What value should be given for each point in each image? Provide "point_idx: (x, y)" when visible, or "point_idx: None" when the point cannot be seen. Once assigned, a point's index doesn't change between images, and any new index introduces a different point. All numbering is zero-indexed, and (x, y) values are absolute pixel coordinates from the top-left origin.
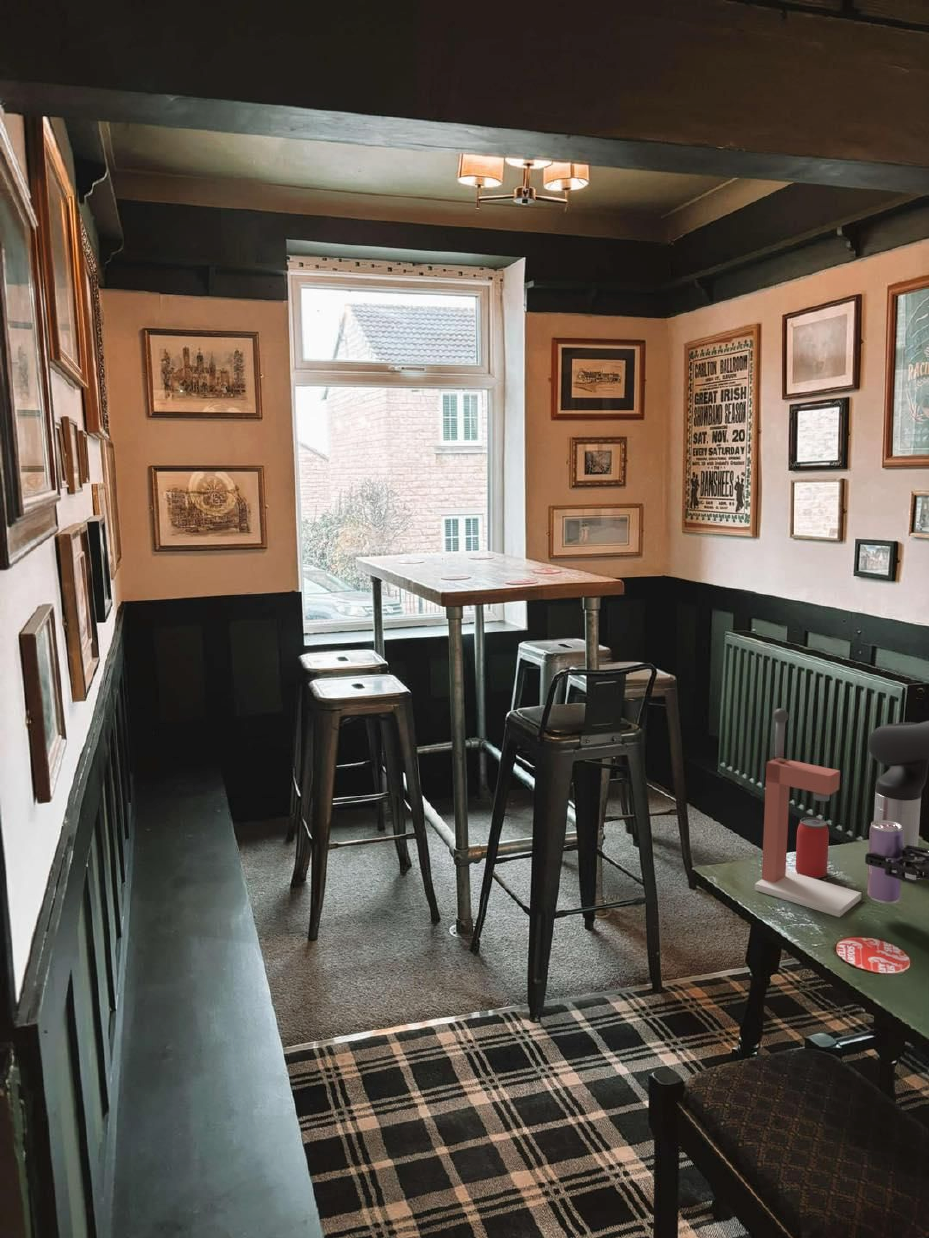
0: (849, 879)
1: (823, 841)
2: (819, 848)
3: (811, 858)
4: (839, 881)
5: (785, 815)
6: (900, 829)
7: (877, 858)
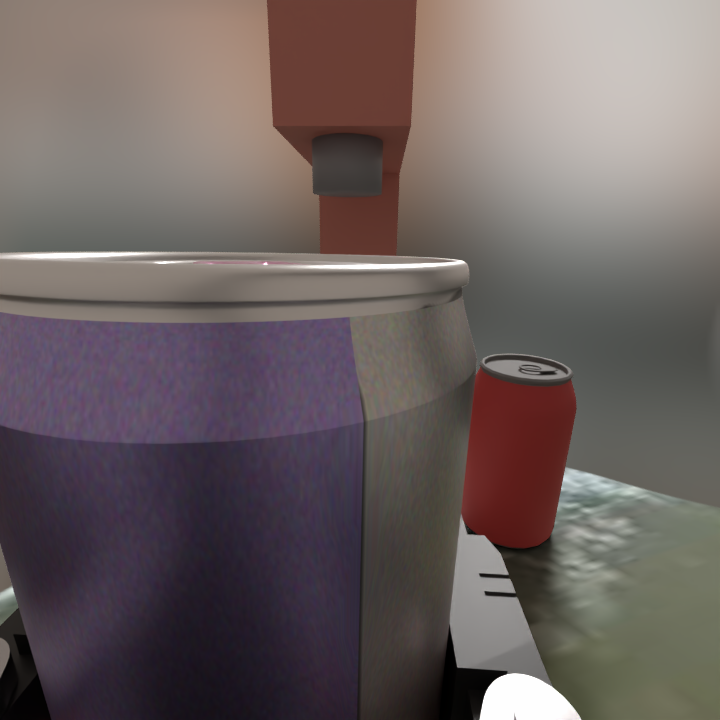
0: (591, 616)
1: (511, 433)
2: (493, 450)
3: (470, 471)
4: (536, 594)
5: None
6: (48, 280)
7: None
